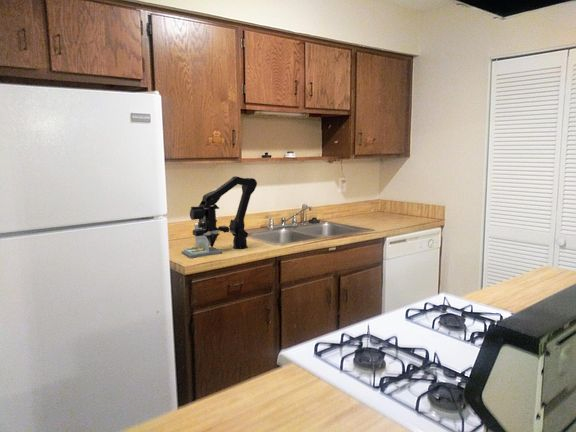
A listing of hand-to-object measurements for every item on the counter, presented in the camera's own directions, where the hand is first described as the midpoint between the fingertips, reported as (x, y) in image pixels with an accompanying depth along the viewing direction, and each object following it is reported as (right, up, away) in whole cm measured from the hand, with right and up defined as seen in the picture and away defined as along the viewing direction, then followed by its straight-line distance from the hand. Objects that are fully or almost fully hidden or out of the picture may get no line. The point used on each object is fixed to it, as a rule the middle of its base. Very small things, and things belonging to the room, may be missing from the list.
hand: (211, 246), depth 225 cm
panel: (-7, -2, -5) cm, 9 cm away
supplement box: (-9, 0, +19) cm, 20 cm away
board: (-5, -3, -3) cm, 6 cm away
